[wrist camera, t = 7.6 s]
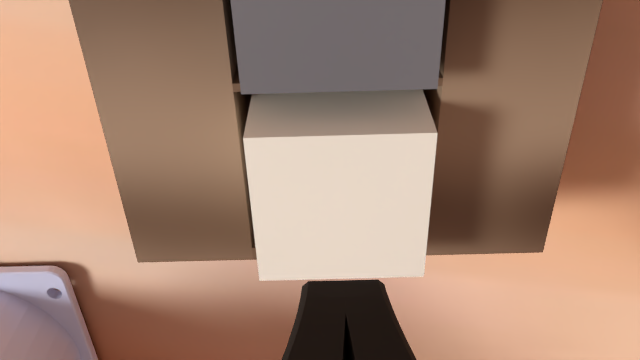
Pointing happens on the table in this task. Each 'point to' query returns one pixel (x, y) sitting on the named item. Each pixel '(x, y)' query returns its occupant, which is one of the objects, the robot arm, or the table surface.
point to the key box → (232, 107)
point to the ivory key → (340, 183)
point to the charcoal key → (337, 45)
